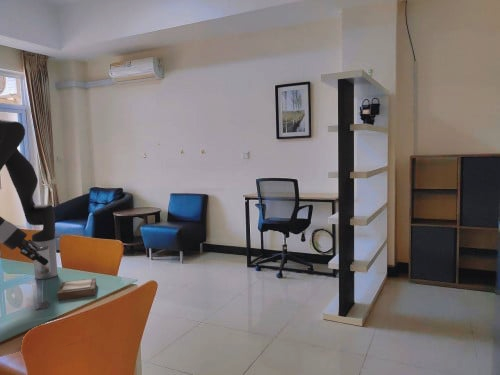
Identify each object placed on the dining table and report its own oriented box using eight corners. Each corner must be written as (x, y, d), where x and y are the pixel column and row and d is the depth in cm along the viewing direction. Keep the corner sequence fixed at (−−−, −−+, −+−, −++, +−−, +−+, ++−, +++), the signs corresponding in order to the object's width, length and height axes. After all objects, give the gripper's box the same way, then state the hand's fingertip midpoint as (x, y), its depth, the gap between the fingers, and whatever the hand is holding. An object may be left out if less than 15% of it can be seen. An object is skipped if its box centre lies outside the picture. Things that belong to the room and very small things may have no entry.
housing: (37, 271, 150) (34, 246, 149) (51, 269, 152) (49, 245, 150) (34, 275, 145) (32, 250, 144) (49, 273, 147) (47, 248, 146)
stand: (62, 289, 156) (61, 281, 156) (96, 285, 160) (95, 277, 160) (57, 300, 144) (57, 292, 144) (94, 295, 148) (94, 287, 148)
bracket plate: (38, 305, 141) (37, 302, 141) (50, 303, 143) (49, 300, 143) (35, 311, 136) (35, 308, 136) (48, 309, 137) (47, 306, 137)
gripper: (13, 231, 137) (53, 258, 143) (19, 223, 150) (55, 249, 156) (-3, 247, 135) (38, 274, 141) (5, 238, 148) (42, 263, 154)
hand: (47, 261), depth 149 cm, fingers closed on housing, 5 cm apart
